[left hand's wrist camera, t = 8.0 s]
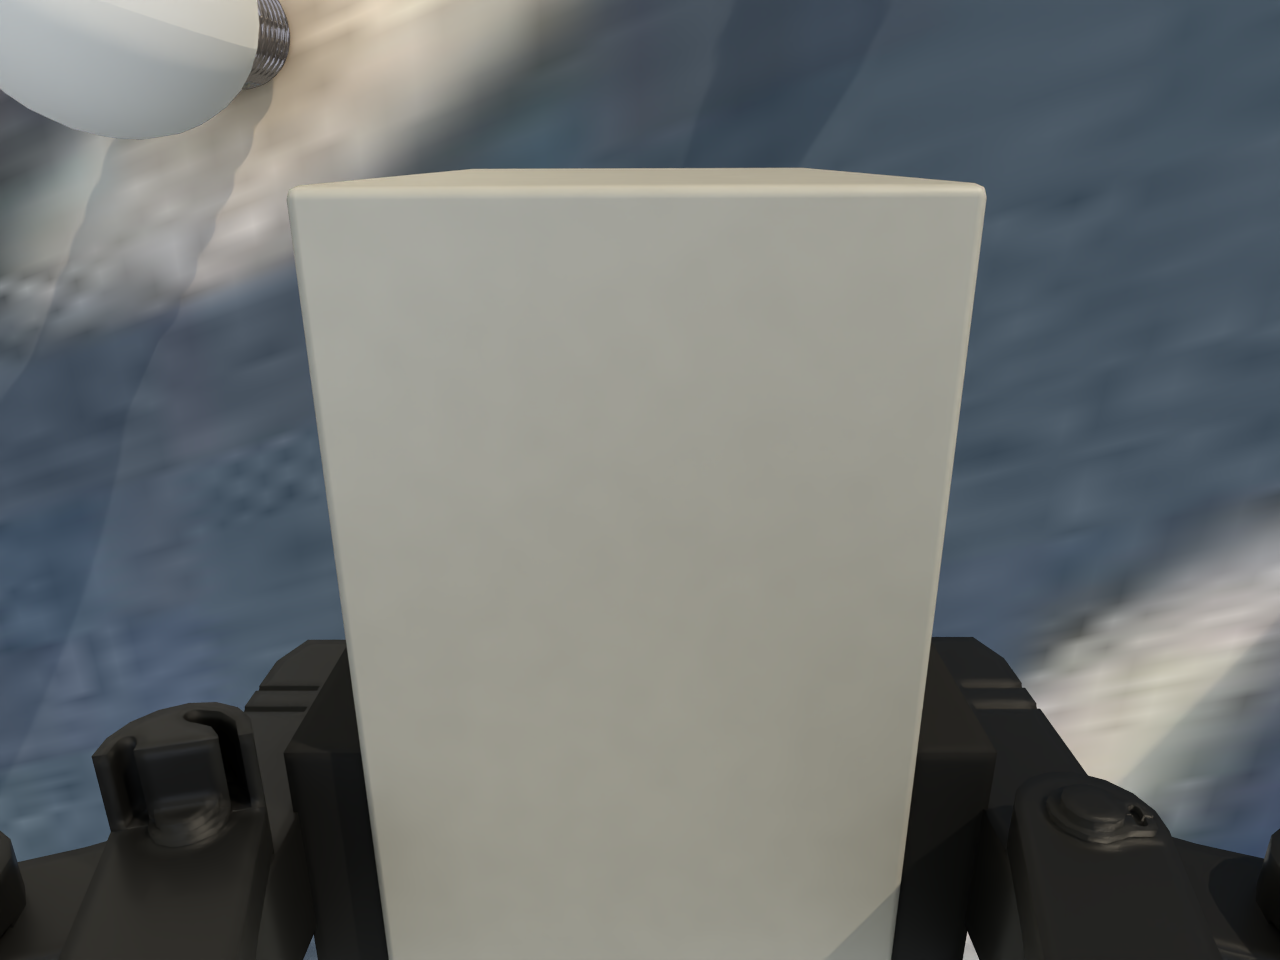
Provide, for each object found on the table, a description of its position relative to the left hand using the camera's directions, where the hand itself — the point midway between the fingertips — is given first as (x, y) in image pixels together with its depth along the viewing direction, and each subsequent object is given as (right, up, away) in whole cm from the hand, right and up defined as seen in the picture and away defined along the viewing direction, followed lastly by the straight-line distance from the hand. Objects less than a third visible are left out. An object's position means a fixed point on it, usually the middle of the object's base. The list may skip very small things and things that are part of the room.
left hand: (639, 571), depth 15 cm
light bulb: (-14, +16, +14) cm, 25 cm away
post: (0, -19, +8) cm, 20 cm away
